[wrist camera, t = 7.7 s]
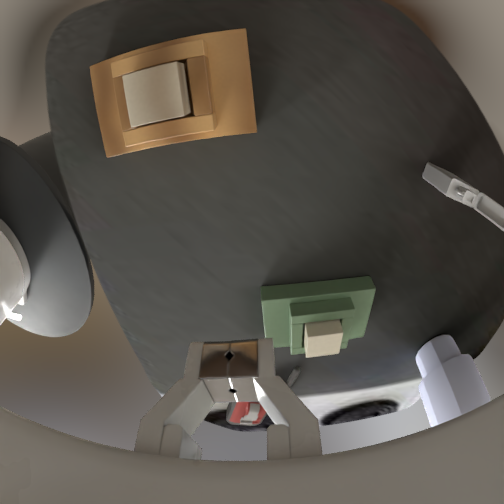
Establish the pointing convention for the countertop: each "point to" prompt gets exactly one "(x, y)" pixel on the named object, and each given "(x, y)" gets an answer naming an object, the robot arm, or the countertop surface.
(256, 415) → the walkie-talkie
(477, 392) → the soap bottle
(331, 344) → the far key
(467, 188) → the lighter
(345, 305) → the key block
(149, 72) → the near key
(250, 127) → the key block
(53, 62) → the countertop surface
